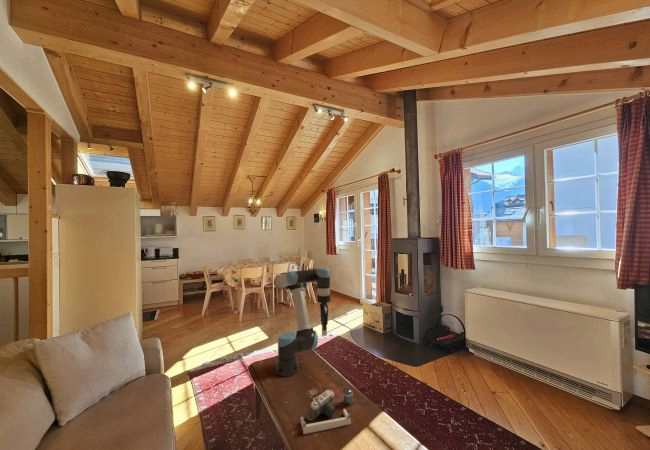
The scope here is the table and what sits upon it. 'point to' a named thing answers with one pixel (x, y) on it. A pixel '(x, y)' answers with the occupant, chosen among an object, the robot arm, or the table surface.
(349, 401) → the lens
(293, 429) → the table surface
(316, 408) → the camera
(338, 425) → the bracket
